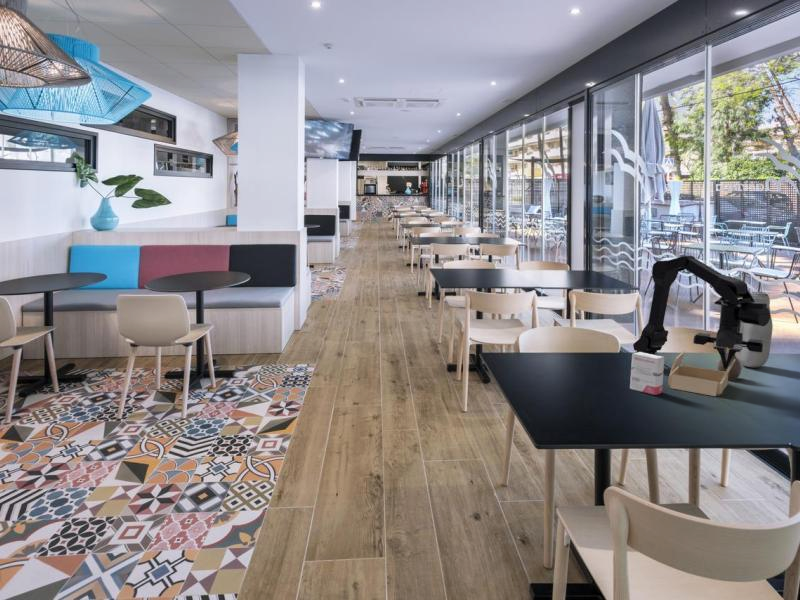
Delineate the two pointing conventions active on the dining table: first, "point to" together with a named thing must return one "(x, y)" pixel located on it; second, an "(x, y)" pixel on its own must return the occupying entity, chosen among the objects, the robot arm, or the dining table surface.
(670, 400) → the dining table surface
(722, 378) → the flap right
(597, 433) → the dining table surface
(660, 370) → the ink box
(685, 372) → the carton
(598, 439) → the dining table surface
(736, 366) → the vase
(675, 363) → the flap left
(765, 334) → the grey bottle
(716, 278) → the robot arm
